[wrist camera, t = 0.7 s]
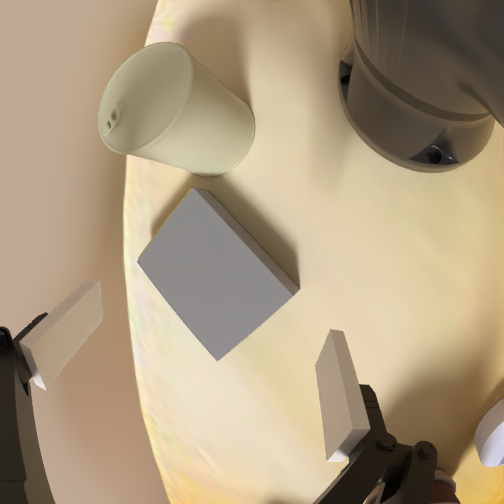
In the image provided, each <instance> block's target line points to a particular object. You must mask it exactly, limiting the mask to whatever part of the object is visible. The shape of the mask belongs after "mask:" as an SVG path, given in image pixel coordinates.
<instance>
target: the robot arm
mask: <svg viewBox="0 0 504 504" xmlns="http://www.w3.org/2000/svg"><path fill="white" fill-rule="evenodd" d="M349 3H350V9H351V15H352V22H353V29H354V33H353V35H352V37H351V39H350V41H349V43H348V45H347V47H346V49H345V51H344V53H343V55H342V57H341V60H340V64H339V70H338V85H339V91H340V97H341V102H342V106H343V109H344V111H345V114H346V116H347V118H348V120H349V122H350V123H351V125H352V127H353V128H354V130H355V131H356V132H357V134H358V135H359V136H360V137H361V138H362V140H363V141H364V142H365V143H366V144H367V145H368V146H369V147H371V148H372V149H373V150H374V151H375V152H377V153H378V154H379V155H381V156H382V157H384V158H385V159H387V160H389V161H391V162H393V163H395V164H397V165H399V166H401V167H404V168H407V169H410V170H414V171H418V172H425V173H440V172H446V171H450V170H453V169H456V168H458V167H460V166H462V165H464V164H465V163H467V162H469V161H470V160H472V159H473V158H474V157H476V156H477V155H478V154H479V153H480V152H481V151H482V150H483V148H484V147H485V145H486V144H487V142H488V140H489V139H490V136H491V134H492V130H493V127H494V123H495V120H497V121H498V122H499V124H500V125H501V126H502V127H503V128H504V0H349ZM103 320H104V316H103V308H102V297H101V284H100V281H99V280H96V279H92V278H89V279H88V280H87V281H86V282H84V283H83V284H82V285H81V286H80V287H79V288H77V289H76V290H75V291H74V292H73V293H71V294H70V295H69V296H68V297H67V298H66V299H65V300H64V301H62V302H61V303H60V304H59V305H58V306H57V307H56V308H55V309H54V310H53V311H51V312H50V313H49V314H48V313H44V314H42V315H39V316H37V317H36V318H35V319H34V320H33V321H32V323H30V324H29V325H28V326H27V327H25V328H24V329H23V330H22V331H21V332H20V333H19V334H18V335H17V336H16V337H15V338H14V339H13V340H12V337H11V334H10V331H9V330H8V329H7V328H6V327H0V504H55V501H54V499H53V496H52V493H51V490H50V486H49V483H48V480H47V476H46V473H45V469H44V465H43V461H42V457H41V452H40V448H39V443H38V438H37V432H36V427H35V420H34V414H33V406H32V397H31V388H30V382H29V379H30V378H31V377H33V379H34V382H35V384H36V385H38V386H39V387H41V388H43V389H45V390H47V389H48V388H49V387H50V385H51V384H52V382H53V381H54V380H55V379H56V378H57V376H58V375H59V374H60V372H61V371H62V370H63V369H64V367H65V366H66V365H67V363H68V362H69V361H70V360H71V358H72V357H73V356H74V355H75V353H76V352H77V351H78V350H79V348H80V347H81V346H82V345H83V344H84V342H85V341H86V340H87V339H88V338H89V336H90V335H91V334H92V333H93V332H94V330H95V329H96V328H97V327H98V326H99V325H100V323H101V322H102V321H103ZM315 367H316V374H317V382H318V389H319V397H320V405H321V413H322V421H323V430H324V439H325V449H326V459H327V462H343V461H344V460H345V459H346V457H347V456H348V457H349V464H348V465H347V466H346V467H345V468H344V469H343V470H342V471H341V473H340V474H339V475H338V476H337V478H336V479H335V480H334V481H333V482H332V483H331V485H330V486H329V487H328V488H327V489H326V490H325V491H324V492H323V493H322V494H321V495H320V496H319V498H318V499H317V500H316V501H315V502H314V503H313V504H363V503H364V501H365V500H366V498H367V497H368V496H369V494H370V493H371V491H372V490H373V488H374V487H375V486H376V484H377V483H378V482H382V484H381V487H380V490H379V493H378V496H377V499H376V501H375V504H430V499H431V494H432V489H433V483H434V477H435V470H436V463H437V450H436V448H435V446H434V445H433V444H432V443H429V442H427V441H420V442H418V443H417V444H416V445H415V446H414V447H413V446H408V445H403V444H400V443H398V442H397V440H396V439H395V437H393V436H392V435H391V434H389V433H387V431H386V427H385V424H384V420H383V417H382V414H381V410H380V409H379V404H378V402H377V401H378V400H377V397H376V394H375V392H374V391H373V389H372V388H371V387H370V386H369V385H362V384H359V383H358V379H357V376H356V372H355V369H354V365H353V362H352V359H351V355H350V352H349V349H348V345H347V342H346V339H345V336H344V332H343V331H339V330H331V329H330V331H329V334H328V336H327V339H326V341H325V344H324V346H323V349H322V351H321V353H320V356H319V358H318V361H317V363H316V365H315Z"/></svg>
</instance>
